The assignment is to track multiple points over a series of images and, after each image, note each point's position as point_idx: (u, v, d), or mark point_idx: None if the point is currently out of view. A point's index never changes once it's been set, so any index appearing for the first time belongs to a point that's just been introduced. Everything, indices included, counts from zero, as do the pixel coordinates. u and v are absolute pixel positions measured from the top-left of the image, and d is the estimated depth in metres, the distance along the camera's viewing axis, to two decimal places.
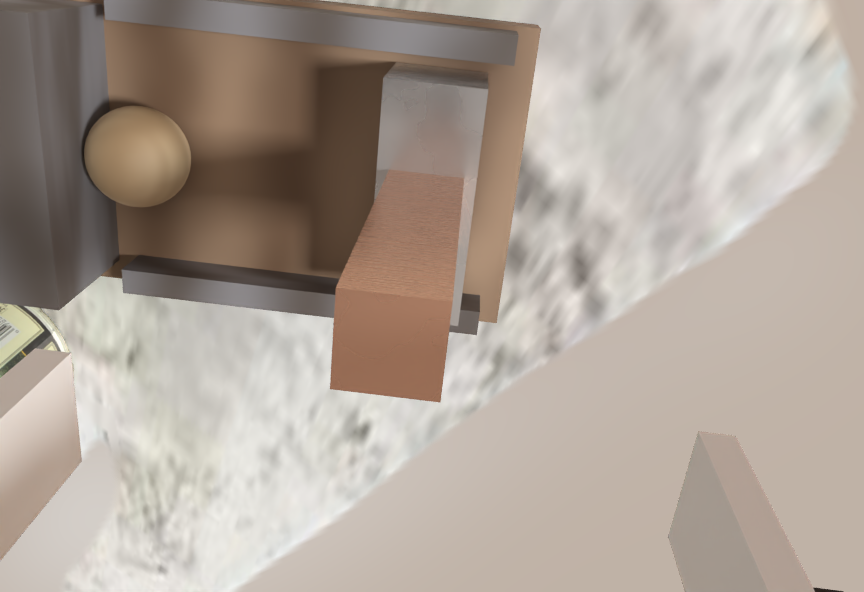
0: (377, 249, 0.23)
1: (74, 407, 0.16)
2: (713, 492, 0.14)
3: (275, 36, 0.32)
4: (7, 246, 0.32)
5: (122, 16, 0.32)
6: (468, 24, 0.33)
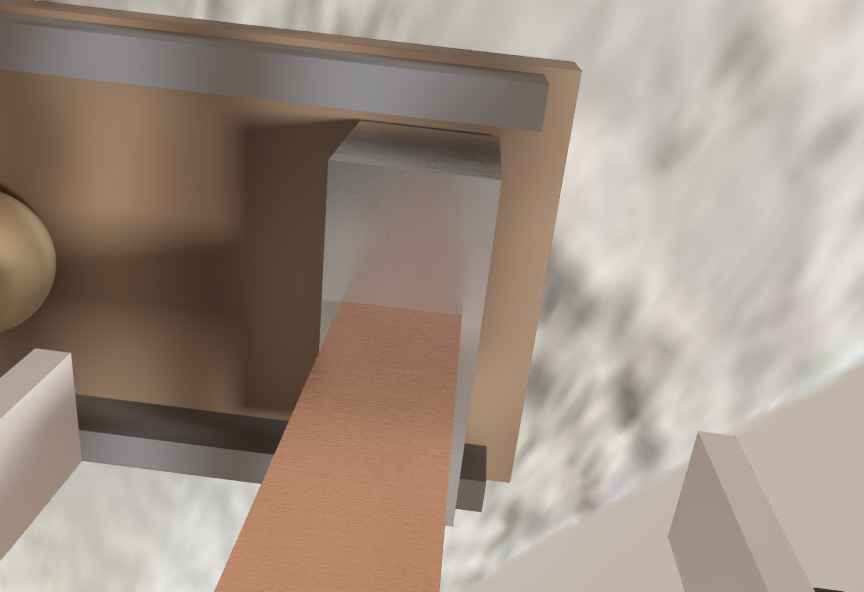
0: (278, 561, 0.11)
1: (74, 407, 0.16)
2: (713, 492, 0.14)
3: (167, 84, 0.20)
4: None
5: None
6: (470, 64, 0.22)
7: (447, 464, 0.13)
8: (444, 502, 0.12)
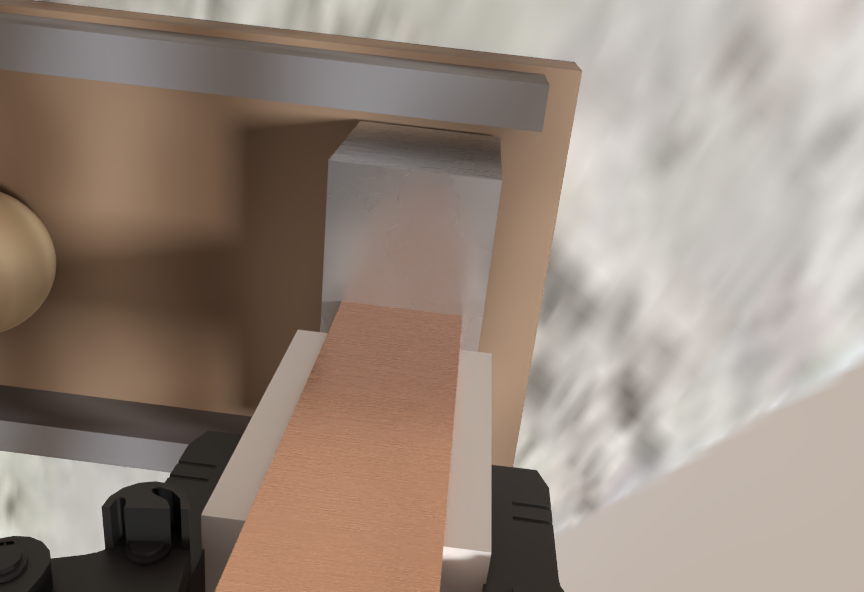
0: (277, 562, 0.11)
1: None
2: None
3: (167, 85, 0.20)
4: None
5: None
6: (470, 64, 0.21)
7: (447, 465, 0.13)
8: (444, 503, 0.12)
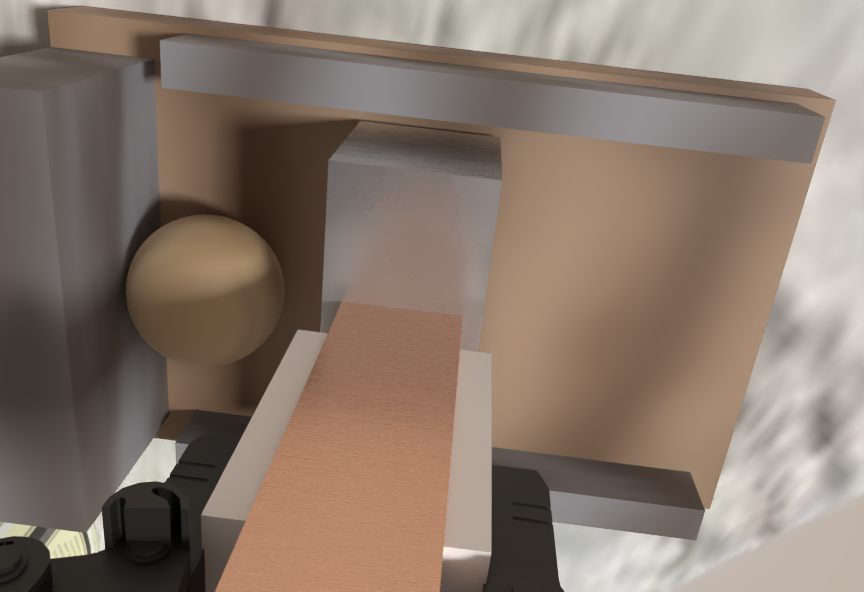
0: (277, 562, 0.11)
1: None
2: None
3: (430, 115, 0.20)
4: (7, 443, 0.20)
5: (189, 83, 0.20)
6: (721, 93, 0.21)
7: (447, 465, 0.13)
8: (444, 503, 0.12)
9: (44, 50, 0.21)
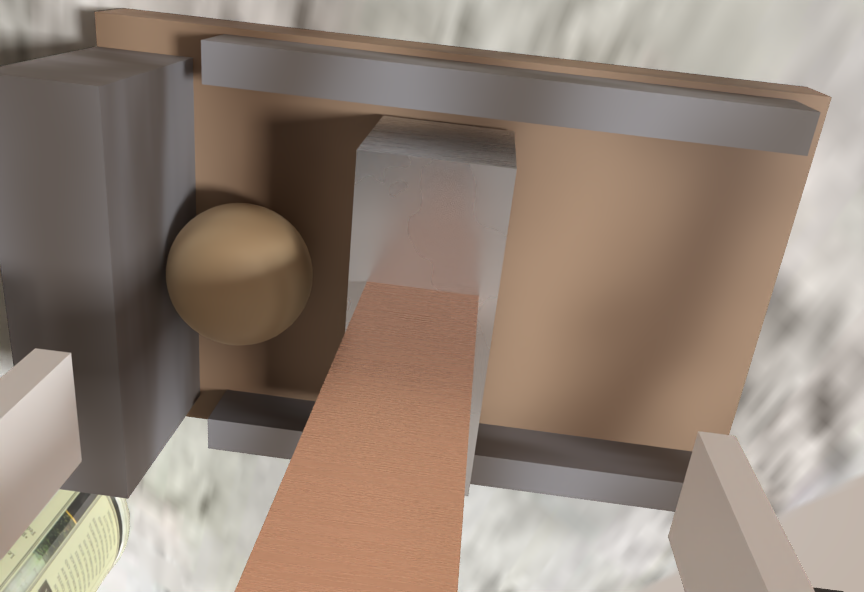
0: (319, 496, 0.12)
1: (74, 407, 0.16)
2: (713, 492, 0.14)
3: (451, 110, 0.22)
4: None
5: (227, 80, 0.22)
6: (723, 90, 0.23)
7: (467, 421, 0.15)
8: (465, 452, 0.14)
9: (92, 49, 0.23)
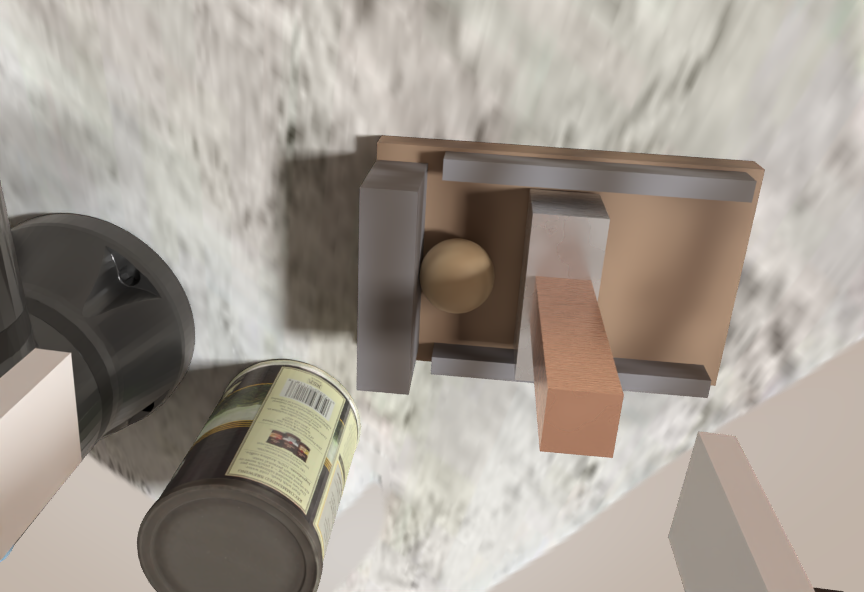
0: (559, 353, 0.34)
1: (74, 407, 0.16)
2: (713, 493, 0.14)
3: (570, 187, 0.43)
4: (376, 350, 0.43)
5: (455, 177, 0.43)
6: (708, 168, 0.44)
7: (604, 330, 0.36)
8: (607, 340, 0.35)
9: (378, 162, 0.44)
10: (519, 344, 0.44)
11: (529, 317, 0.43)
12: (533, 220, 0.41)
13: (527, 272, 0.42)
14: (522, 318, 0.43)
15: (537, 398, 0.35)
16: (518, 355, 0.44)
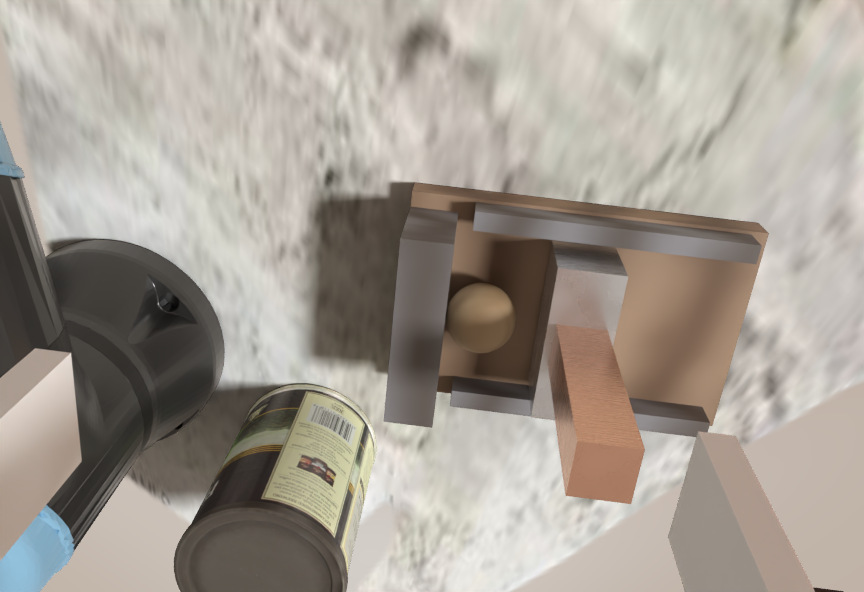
0: (584, 406, 0.37)
1: (73, 407, 0.16)
2: (713, 493, 0.14)
3: (591, 243, 0.46)
4: (405, 386, 0.47)
5: (485, 228, 0.46)
6: (717, 229, 0.47)
7: (623, 383, 0.40)
8: (626, 393, 0.39)
9: (413, 210, 0.48)
10: (537, 385, 0.47)
11: (548, 361, 0.46)
12: (558, 274, 0.44)
13: (549, 320, 0.45)
14: (541, 361, 0.46)
15: (561, 444, 0.38)
16: (535, 395, 0.47)
